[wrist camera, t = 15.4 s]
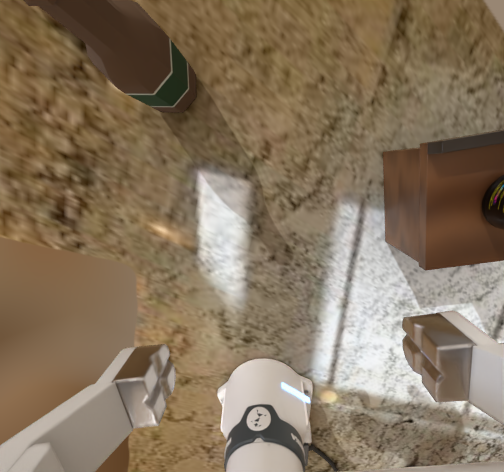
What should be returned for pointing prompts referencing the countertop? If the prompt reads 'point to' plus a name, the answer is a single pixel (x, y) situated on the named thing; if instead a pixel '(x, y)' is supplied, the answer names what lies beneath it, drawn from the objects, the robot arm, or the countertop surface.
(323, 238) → the countertop surface
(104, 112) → the countertop surface
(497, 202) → the supplement container
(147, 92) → the beer bottle
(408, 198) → the wooden stand
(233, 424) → the robot arm
